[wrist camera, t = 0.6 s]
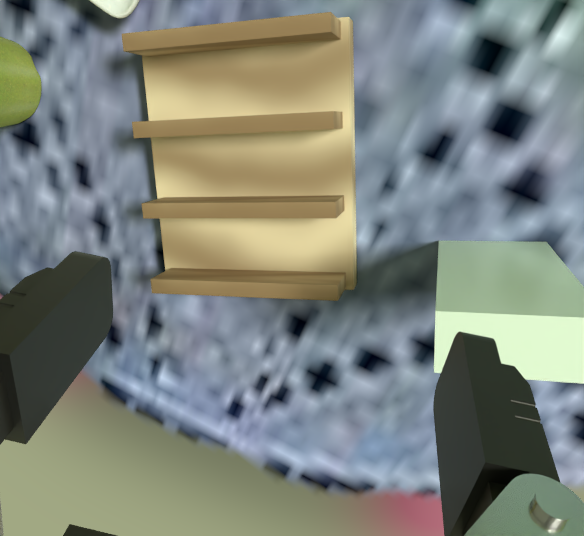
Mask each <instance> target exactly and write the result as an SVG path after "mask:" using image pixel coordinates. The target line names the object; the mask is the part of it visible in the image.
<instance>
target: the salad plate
mask: <svg viewBox="0 0 584 536" xmlns="http://www.w3.org/2000/svg"><path fill="white" fill-rule="evenodd" d="M89 1H90V2H92V3H93V4H95V5H96V6H97V7H99V8H100V9H102V10H103V11H104V12H106V13H107V14H109V15H111V16H113V17H115V18H125V17H127V16H129V15H130V14H131V13H132V12H133V11H134V9H135V8H136V6H137V5H138V3H139V1H140V0H89Z"/></svg>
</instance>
